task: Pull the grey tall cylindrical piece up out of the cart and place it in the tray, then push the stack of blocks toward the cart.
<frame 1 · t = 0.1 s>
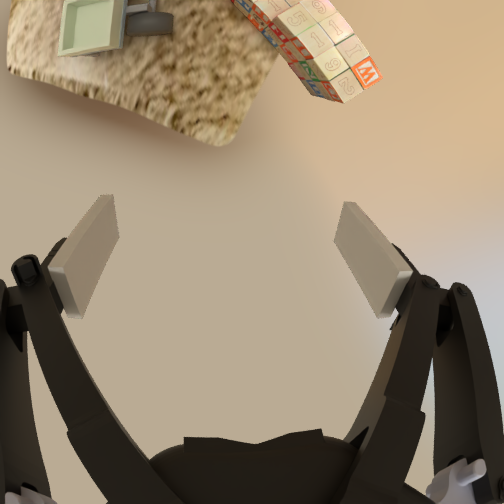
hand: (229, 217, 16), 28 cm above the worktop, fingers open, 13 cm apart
cart: (117, 9, 26), on the worktop
tray: (95, 24, 22), resting on cart
stack of blocks: (283, 29, 31), on the worktop
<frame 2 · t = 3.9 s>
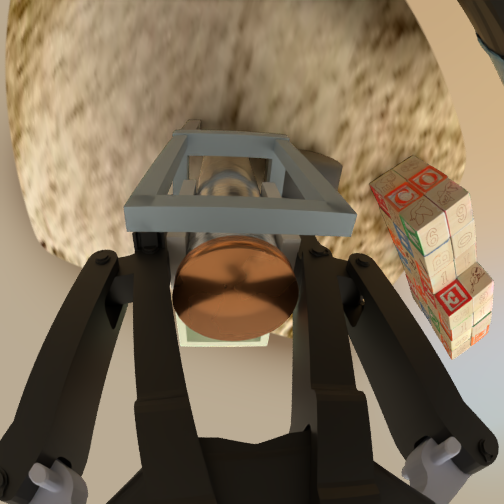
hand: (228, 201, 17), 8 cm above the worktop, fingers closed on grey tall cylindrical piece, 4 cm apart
cart: (223, 199, 26), on the worktop
tray: (223, 282, 22), resting on cart
stack of blocks: (415, 237, 31), on the worktop
grey tall cylindrical piece: (225, 163, 24), on the worktop, touching gripper
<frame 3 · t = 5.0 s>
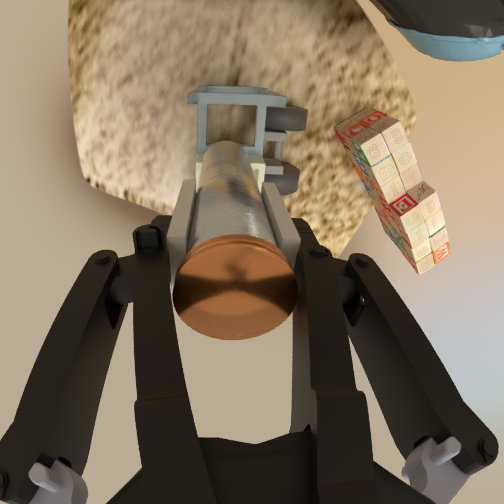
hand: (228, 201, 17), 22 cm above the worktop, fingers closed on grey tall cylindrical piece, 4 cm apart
cart: (229, 139, 36), on the worktop
tray: (228, 185, 32), resting on cart
stack of blocks: (378, 174, 40), on the worktop
grey tall cylindrical piece: (225, 162, 24), point 13 cm above the worktop, touching gripper
when the fingers open (17 cm above the worktop, at t = 6.3 s): grey tall cylindrical piece stays where it is, resting on tray.
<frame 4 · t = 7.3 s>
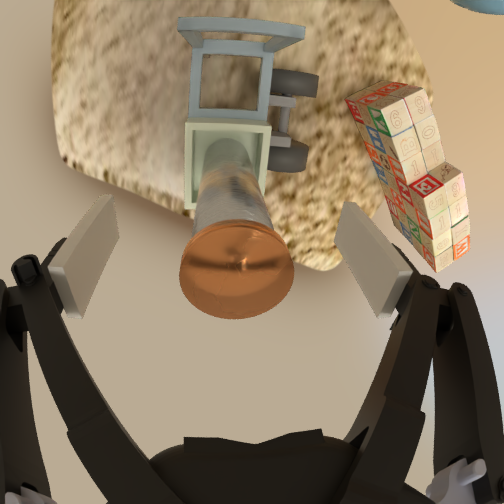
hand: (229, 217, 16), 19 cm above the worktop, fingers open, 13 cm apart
cart: (226, 110, 30), on the worktop
tray: (225, 157, 26), resting on cart
stack of blocks: (390, 158, 35), on the worktop
grey tall cylindrical piece: (226, 159, 25), point 8 cm above the worktop, touching tray
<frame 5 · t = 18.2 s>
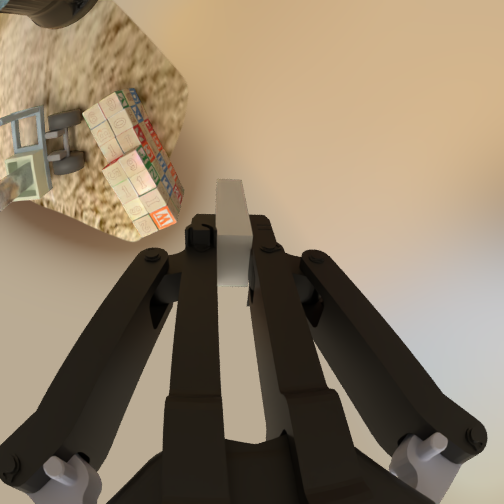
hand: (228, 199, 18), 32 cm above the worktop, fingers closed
cart: (48, 141, 41), on the worktop
tray: (31, 172, 37), resting on cart
stack of blocks: (144, 147, 45), on the worktop
grey tall cylindrical piece: (30, 173, 36), point 8 cm above the worktop, touching tray
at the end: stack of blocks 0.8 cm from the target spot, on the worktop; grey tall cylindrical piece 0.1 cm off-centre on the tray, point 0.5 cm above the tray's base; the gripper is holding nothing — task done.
